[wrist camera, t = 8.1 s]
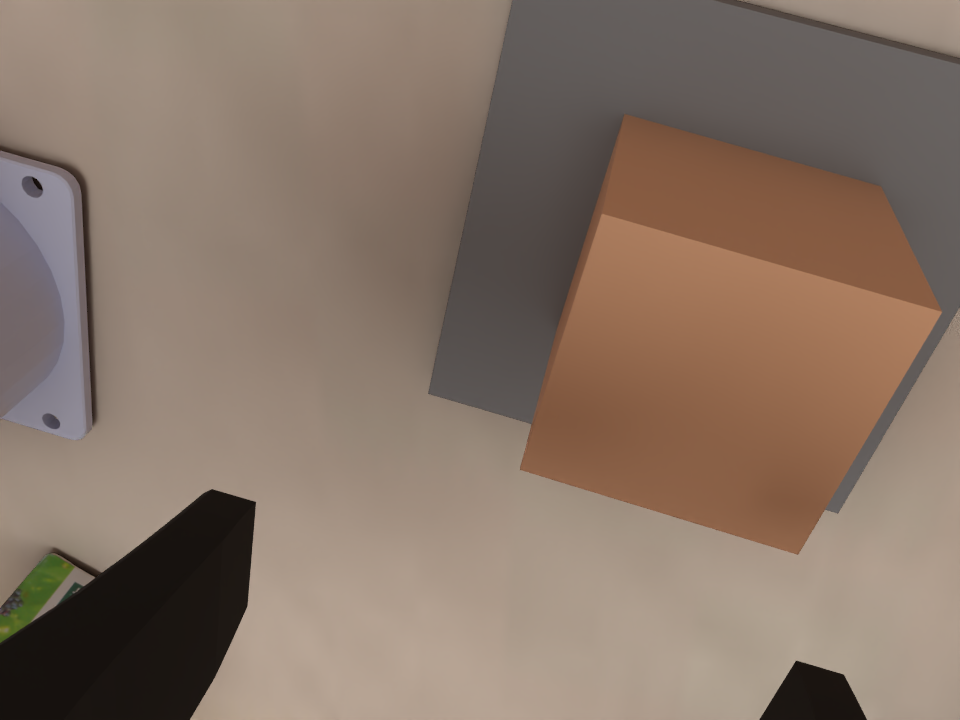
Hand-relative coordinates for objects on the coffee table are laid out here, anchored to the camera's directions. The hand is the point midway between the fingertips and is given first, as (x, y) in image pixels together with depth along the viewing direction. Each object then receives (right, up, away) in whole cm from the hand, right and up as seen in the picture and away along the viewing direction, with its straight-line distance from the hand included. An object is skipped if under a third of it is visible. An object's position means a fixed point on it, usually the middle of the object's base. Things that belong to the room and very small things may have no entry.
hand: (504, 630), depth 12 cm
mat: (+4, +6, +7) cm, 10 cm away
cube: (+4, +5, +7) cm, 10 cm away
